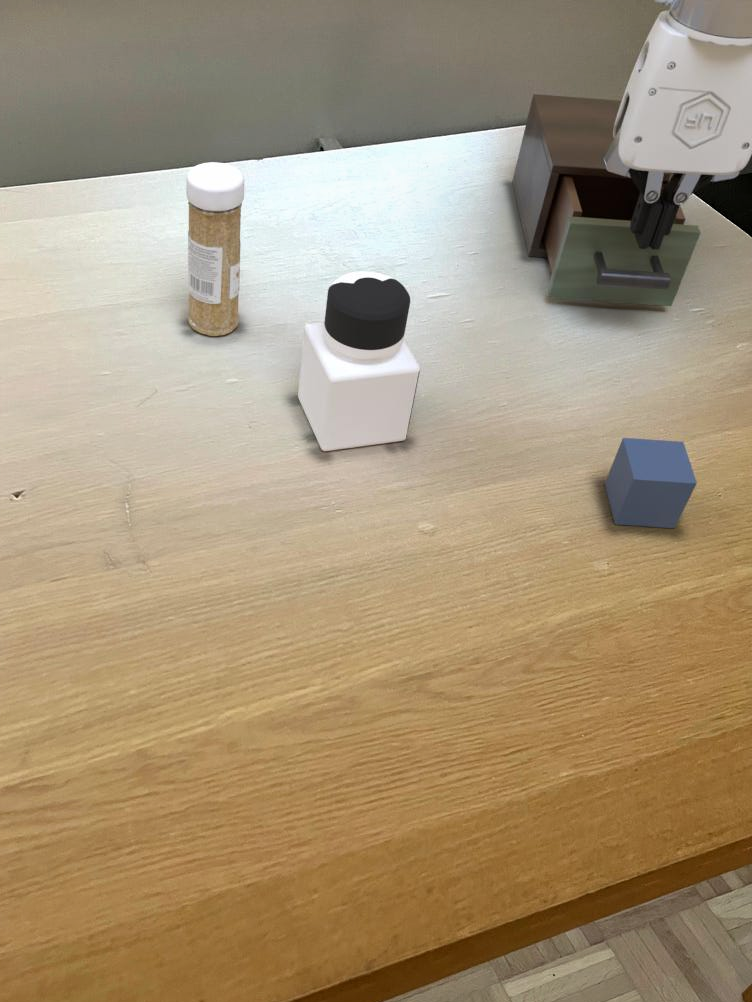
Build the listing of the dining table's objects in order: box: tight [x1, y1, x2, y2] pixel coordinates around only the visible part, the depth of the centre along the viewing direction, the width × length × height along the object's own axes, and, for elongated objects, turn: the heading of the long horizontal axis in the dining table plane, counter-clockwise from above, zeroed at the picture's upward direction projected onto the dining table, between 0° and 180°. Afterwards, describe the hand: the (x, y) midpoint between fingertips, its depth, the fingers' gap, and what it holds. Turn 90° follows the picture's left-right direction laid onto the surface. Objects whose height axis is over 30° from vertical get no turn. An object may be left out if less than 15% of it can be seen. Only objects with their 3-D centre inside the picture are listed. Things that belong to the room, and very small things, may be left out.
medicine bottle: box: [297, 270, 421, 452], centre depth 81 cm, size 7×7×12 cm
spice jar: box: [185, 161, 245, 337], centre depth 87 cm, size 5×5×14 cm
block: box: [604, 437, 698, 529], centre depth 79 cm, size 5×5×5 cm
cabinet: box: [511, 93, 671, 259], centre depth 104 cm, size 15×13×9 cm
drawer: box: [543, 174, 701, 307], centre depth 97 cm, size 18×11×7 cm, turn 178°
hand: (645, 240), depth 90 cm, fingers closed
